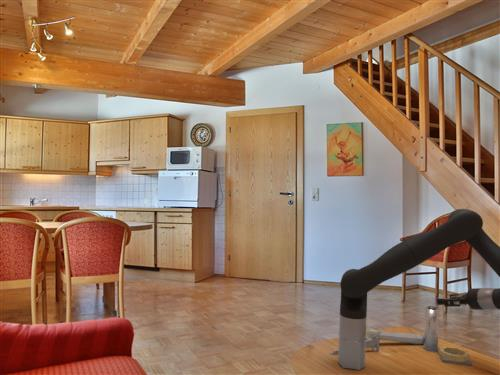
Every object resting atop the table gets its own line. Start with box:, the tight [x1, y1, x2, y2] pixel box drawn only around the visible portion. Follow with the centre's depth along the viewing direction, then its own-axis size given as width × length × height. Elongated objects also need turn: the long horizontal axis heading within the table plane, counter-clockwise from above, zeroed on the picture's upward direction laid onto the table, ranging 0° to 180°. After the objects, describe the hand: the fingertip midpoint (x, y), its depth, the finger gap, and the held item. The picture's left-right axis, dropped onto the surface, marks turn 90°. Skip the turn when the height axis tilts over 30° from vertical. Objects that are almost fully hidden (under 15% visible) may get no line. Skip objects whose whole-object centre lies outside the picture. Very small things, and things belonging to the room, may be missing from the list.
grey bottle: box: [423, 305, 440, 353], centre depth 163 cm, size 5×5×17 cm
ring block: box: [437, 345, 473, 367], centre depth 154 cm, size 10×10×3 cm
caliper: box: [329, 335, 380, 356], centre depth 157 cm, size 20×1×6 cm, turn 105°
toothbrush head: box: [366, 329, 424, 348], centre depth 167 cm, size 5×7×25 cm
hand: (443, 299), depth 159 cm, fingers open, 8 cm apart
